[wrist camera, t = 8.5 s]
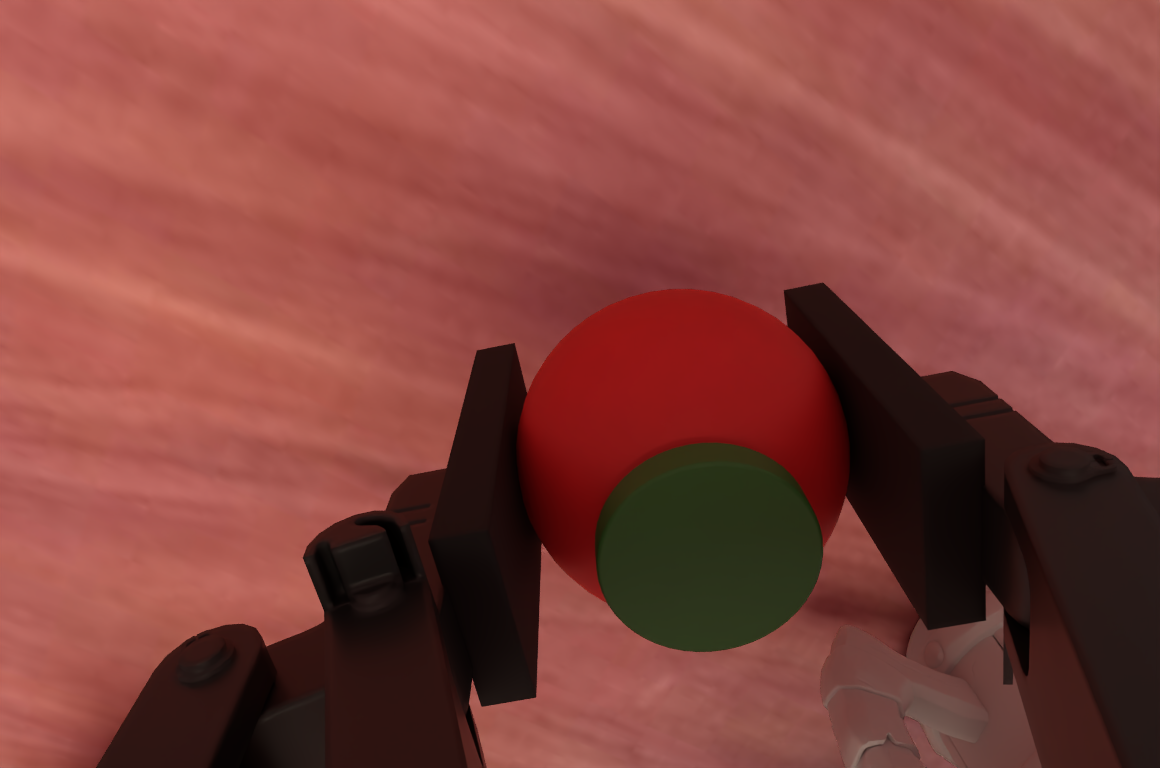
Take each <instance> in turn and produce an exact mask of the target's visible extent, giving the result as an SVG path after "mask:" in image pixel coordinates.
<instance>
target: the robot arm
mask: <svg viewBox="0 0 1160 768" xmlns="http://www.w3.org/2000/svg"><path fill="white" fill-rule="evenodd" d="M784 296H785V306H786V315H787V325H788V328H790V329H791V330H792V331H793V332H794V333H795V334H796V335H798V336H799V337H800V338H801V340H802V341H803V342H804V343H805V344H806V345H807V346H808V347H809V348H810V349H811V350H812V351H813V352H814V354H815V355H816V357H817V358H818V360H819V361H820V362H821V364H822V365H823V367H824V368H825V370H826V372H827V373H828V375H829V377H830V379H831V381H832V383H833V385H834V387H835V389H836V391H837V393H838V395H839V398H840V401H841V405H842V408H843V412H844V415H845V418H846V422H847V428H848V434H849V441H850V473H849V480H848V487H847V493H846V497H847V499H848V500H849V502H850V504H851V505H852V507H853V508H854V510H855V512H856V513H857V515H858V517H859V518H860V520H861V522H862V523H863V525H864V526H865V528H866V530H867V531H868V533H869V535H870V536H871V538H872V540H873V541H874V543H875V544H876V546H877V548H878V549H879V551H880V553H881V554H882V556H883V558H884V559H885V561H886V563H887V564H888V566H889V567H890V569H891V571H892V572H893V574H894V576H895V577H896V579H897V581H898V582H899V584H900V585H901V587H902V589H903V590H904V592H905V594H906V595H907V597H908V599H909V600H910V602H911V603H912V605H913V607H914V608H915V610H916V612H917V613H918V615H919V617H920V618H921V620H922V621H923V623H924V625H925V626H926V628H927V630H934V629H939V628H945V627H951V626H957V625H963V624H969V623H975V622H981V621H986V585H987V586H988V588H989V589H990V590H991V591H992V593H993V594H994V595H995V597H996V598H997V599H998V601H999V602H1000V603H1001V605H1002V606H1003V607H1004V616H1003V685H1013V673H1014V676H1015V679H1016V683H1017V686H1018V689H1019V693H1020V696H1021V699H1022V703H1023V706H1024V710H1025V713H1026V716H1027V720H1028V723H1029V726H1030V730H1031V733H1032V737H1033V740H1034V743H1035V747H1036V750H1037V753H1038V757H1039V760H1040V763H1041V767H1042V768H1160V478H1146V477H1134V476H1133V475H1132V473H1131V472H1130V470H1129V469H1128V467H1127V466H1126V465H1125V464H1124V463H1123V462H1121V461H1120V460H1119V459H1118V458H1117V457H1116V456H1114V455H1112V454H1109V453H1107V452H1105V451H1102V450H1100V449H1098V448H1094V447H1090V446H1085V445H1080V444H1075V443H1054V442H1052V441H1051V440H1050V439H1049V438H1048V437H1046V436H1045V435H1044V434H1043V433H1042V432H1040V431H1039V430H1038V429H1037V428H1036V427H1035V426H1033V425H1032V424H1031V423H1030V422H1029V421H1027V420H1026V419H1025V418H1024V417H1023V416H1021V415H1020V414H1019V413H1018V412H1017V411H1013V410H1012V407H1011V406H1010V405H1008V404H1007V403H1006V402H1005V401H1004V400H1002V399H998V395H996V394H995V393H994V392H993V391H992V390H990V389H989V388H988V387H987V386H986V385H985V384H983V383H982V382H981V381H979V380H976V379H973V378H970V377H968V376H965V375H962V374H959V373H957V372H954V371H949V372H944V373H938V374H933V375H928V376H923V377H920V376H919V375H918V374H917V373H916V372H915V371H914V370H913V369H912V368H911V367H910V366H909V365H908V364H907V363H906V362H905V361H904V360H903V359H902V358H901V357H900V356H899V355H898V354H897V353H896V352H895V351H893V350H892V349H891V348H890V347H889V346H888V345H887V344H886V343H885V342H884V341H883V340H882V339H881V338H880V337H879V336H878V335H877V334H876V333H875V332H874V331H873V330H872V329H871V328H870V327H869V326H868V325H867V324H866V323H865V322H864V321H862V320H861V319H860V318H859V317H858V316H857V315H856V314H855V313H854V312H853V311H852V310H851V309H850V308H849V307H848V306H847V305H846V304H845V303H844V302H843V301H842V300H841V299H840V298H839V297H838V296H837V295H836V294H835V293H834V292H832V291H831V290H830V289H829V288H828V287H827V286H826V285H825V284H824V283H819V284H814V285H808V286H803V287H798V288H793V289H788V290H784ZM526 396H527V391H526V387H525V383H524V379H523V375H522V371H521V367H520V363H519V359H518V355H517V351H516V347H515V343H513V344H508V345H503V346H497V347H492V348H487V349H482V350H477V352H476V356H475V360H474V364H473V368H472V372H471V375H470V379H469V383H468V387H467V391H466V395H465V399H464V403H463V407H462V410H461V414H460V418H459V422H458V426H457V430H456V434H455V438H454V442H453V446H452V449H451V453H450V457H449V461H448V465H447V468H446V469H441V470H436V471H430V472H425V473H420V474H414V475H410V476H409V477H408V478H407V479H406V480H405V481H404V482H403V483H402V484H401V485H400V486H399V487H398V488H397V489H396V490H395V491H394V492H393V493H392V495H391V497H390V500H389V503H388V506H387V508H386V511H371V512H366V513H362V514H357V515H354V516H351V517H349V518H346V519H344V520H342V521H339V522H337V523H335V524H333V525H332V526H330V527H329V528H327V529H326V530H324V531H323V532H321V533H319V534H318V535H317V536H316V537H315V538H314V540H313V541H312V542H311V543H310V544H309V545H308V546H307V548H306V551H305V554H304V556H303V559H304V562H305V564H306V567H307V569H308V572H309V574H310V577H311V579H312V582H313V584H314V587H315V589H316V592H317V594H318V597H319V599H320V602H321V604H322V607H323V609H324V622H323V623H321V624H319V625H318V626H315V627H313V628H311V629H309V630H307V631H305V632H302V633H300V634H297V635H295V636H292V637H290V638H287V639H284V640H282V641H279V642H277V643H274V644H272V645H269V646H267V647H266V646H265V643H264V641H263V639H262V637H261V635H260V634H259V632H258V630H257V629H256V628H254V627H251V626H248V625H245V624H233V625H224V626H220V627H217V628H214V629H211V630H206V631H204V632H201V633H199V634H197V636H193V637H191V638H190V639H188V640H186V641H185V642H183V643H182V644H181V645H180V646H179V647H177V648H176V649H175V650H173V651H172V652H171V653H170V654H168V655H167V656H166V657H165V658H164V659H163V661H162V662H161V663H160V664H159V666H158V667H157V668H156V669H155V670H154V672H153V673H152V675H151V677H150V678H149V680H148V682H147V683H146V685H145V687H144V688H143V690H142V692H141V693H140V695H139V697H138V698H137V700H136V702H135V703H134V705H133V707H132V708H131V710H130V712H129V713H128V715H127V717H126V718H125V720H124V722H123V723H122V725H121V727H120V729H119V730H118V732H117V734H116V735H115V737H114V739H113V740H112V742H111V744H110V745H109V747H108V749H107V750H106V752H105V754H104V755H103V757H102V759H101V760H100V762H99V764H98V765H97V767H96V768H486V763H485V759H484V755H483V751H482V747H481V743H480V738H479V734H478V730H477V727H476V724H475V721H474V718H473V715H472V711H471V708H470V705H469V698H470V691H471V683H472V679H473V682H474V685H475V688H476V691H477V694H478V697H479V700H480V703H481V706H482V707H483V706H489V705H495V704H501V703H507V702H512V701H518V700H524V699H530V698H536V687H537V658H538V629H539V601H540V572H541V544H542V542H541V541H540V539H539V537H538V536H537V534H536V532H535V530H534V528H533V526H532V524H531V522H530V520H529V517H528V514H527V511H526V508H525V505H524V502H523V497H522V493H521V488H520V483H519V477H518V469H517V456H516V441H517V433H518V425H519V421H520V417H521V413H522V410H523V406H524V402H525V398H526Z"/></svg>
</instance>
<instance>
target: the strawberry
mask: <svg viewBox="0 0 1160 768" xmlns="http://www.w3.org/2000/svg"><path fill="white" fill-rule="evenodd" d="M516 456H517V469H518V477H519V483H520V488H521V493H522V497H523V502H524V505H525V508H526V511H527V514H528V517H529V520H530V522H531V524H532V526H533V528H534V530H535V532H536V534H537V536H538V537H539V539H540V541H541V542H542V544H543V545H544V547H545V548H546V549H547V551H548V552H549V554H550V555H551V556H552V558H553V559H554V561H555V562H556V563H557V564H558V565H559V566H560V567H561V568H562V569H563V570H564V571H565V572H566V573H567V574H568V575H569V576H570V577H571V578H572V579H573V580H574V581H576V582H577V583H578V584H579V585H581V586H582V587H583V588H584V589H586V590H587V591H588V592H589V593H591V594H593V595H594V596H596V597H598V598H599V599H601V600H602V601H604V602H606V603H607V604H608V605H609V606H610V608H611V609H612V611H613V612H614V614H615V615H616V616H617V617H618V618H619V619H620V620H621V621H622V622H623V623H624V624H625V625H626V626H627V627H629V628H630V629H631V630H632V631H634V632H635V633H637V634H638V635H640V636H642V637H643V638H645V639H647V640H649V641H652V642H654V643H656V644H659V645H662V646H665V647H668V648H672V649H677V650H682V651H693V652H712V651H720V650H727V649H731V648H735V647H739V646H742V645H745V644H748V643H751V642H754V641H756V640H758V639H760V638H762V637H764V636H766V635H768V634H770V633H771V632H773V631H775V630H776V629H778V628H779V627H780V626H782V625H783V624H784V623H786V622H787V621H788V620H789V619H790V618H791V617H792V616H793V615H794V614H795V613H796V612H797V611H798V610H799V609H800V608H801V607H802V605H803V604H804V603H805V602H806V600H807V598H808V597H809V595H810V594H811V592H812V590H813V588H814V586H815V584H816V582H817V579H818V576H819V573H820V569H821V565H822V558H823V547H824V545H825V544H826V542H827V541H828V539H829V537H830V536H831V534H832V532H833V530H834V527H835V525H836V523H837V521H838V518H839V515H840V513H841V510H842V506H843V503H844V499H845V496H846V493H847V487H848V480H849V473H850V441H849V434H848V428H847V422H846V418H845V415H844V412H843V408H842V405H841V401H840V398H839V395H838V393H837V391H836V389H835V387H834V385H833V383H832V381H831V379H830V377H829V375H828V373H827V372H826V370H825V368H824V367H823V365H822V364H821V362H820V361H819V360H818V358H817V357H816V355H815V354H814V352H813V351H812V350H811V349H810V348H809V347H808V346H807V345H806V344H805V343H804V342H803V341H802V340H801V338H800V337H799V336H798V335H796V334H795V333H794V332H793V331H792V330H791V329H790V328H788V327H787V326H786V325H785V324H783V323H782V322H781V321H780V320H778V319H777V318H776V317H774V316H772V315H770V314H769V313H767V312H765V311H763V310H762V309H760V308H758V307H756V306H754V305H751V304H749V303H746V302H744V301H742V300H739V299H737V298H734V297H731V296H727V295H724V294H720V293H716V292H712V291H703V290H695V289H668V290H661V291H653V292H648V293H644V294H640V295H636V296H632V297H629V298H626V299H624V300H621V301H619V302H616V303H614V304H611V305H609V306H607V307H605V308H603V309H602V310H600V311H598V312H596V313H594V314H593V315H591V316H590V317H588V318H587V319H585V320H584V321H583V322H581V323H580V324H579V325H577V326H576V327H575V328H573V329H572V330H571V331H570V332H569V333H568V334H567V335H566V336H565V337H564V338H563V339H562V340H561V341H560V342H559V343H558V344H557V346H556V347H555V348H554V349H553V351H552V352H551V353H550V354H549V356H548V357H547V358H546V360H545V361H544V363H543V364H542V366H541V368H540V369H539V371H538V373H537V374H536V376H535V378H534V379H533V382H532V384H531V386H530V389H529V391H528V393H527V396H526V398H525V402H524V406H523V410H522V413H521V417H520V421H519V425H518V433H517V441H516Z"/></svg>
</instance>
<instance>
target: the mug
mask: <svg viewBox="0 0 1160 768" xmlns="http://www.w3.org/2000/svg"><path fill="white" fill-rule="evenodd" d="M1003 616H1004V607H1003V606H1002V605H1001V603H1000V602H999V601H998V599H997V598H996V597H995V595H994V594H993V593H992V591H991V590H990V589H989V588H988V586H987V585H986V621H981V622H975V623H969V624H963V625H957V626H951V627H945V628H939V629H934V630H927V628H926V626H925V625H924V623H923V621H922V620H921V618H920V619H919V620H918V622H917V624H916V626H915V628H914V630H913V632H912V634H911V637H910V640H909V643H908V647H907V654H906V657H905V656H903V655H901V654H899V653H898V652H896V651H894V650H893V649H891V648H890V647H888V646H887V645H885V644H884V643H883V642H881V641H880V640H878V639H877V638H875V637H874V636H872V635H870V634H868V633H866V632H864V631H862V630H861V629H859V628H857V627H855V626H851V625H844V626H841V627H840V628H839V630H838V632H837V634H836V636H835V639H834V641H833V644H832V647H831V654H830V655H829V656H828V657H827V659H826V661H825V663H824V665H823V668H822V671H821V681H820V692H821V698H822V702H823V705H824V707H825V708H826V709H827V710H828V713H829V717H830V720H831V723H832V729H833V732H834V735H835V737H836V740H837V743H838V746H839V750H840V754H841V757H842V760H843V763H844V765H845V767H846V768H926V767H925V766H924V764H923V763H922V762H921V761H920V754H919V751H918V749H917V747H916V745H915V744H914V742H913V740H912V739H911V737H910V735H909V733H908V731H907V728H906V726H905V723H904V717H905V716H908V717H910V718H912V719H914V720H916V721H918V722H919V723H920V725H921V727H922V729H923V731H924V733H925V734H926V736H927V739H928V741H929V743H930V745H931V747H932V748H933V750H934V751H935V752H936V753H937V754H938V755H940V756H943V758H944V759H945V760H947V761H948V762H950V763H952V764H953V765H955V766H956V767H958V768H1042V767H1041V763H1040V760H1039V757H1038V753H1037V750H1036V747H1035V743H1034V740H1033V737H1032V733H1031V730H1030V726H1029V723H1028V720H1027V716H1026V713H1025V710H1024V706H1023V703H1022V699H1021V696H1020V693H1019V689H1018V686H1017V683H1016V679H1015V676H1014V673H1013V685H1003Z"/></svg>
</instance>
